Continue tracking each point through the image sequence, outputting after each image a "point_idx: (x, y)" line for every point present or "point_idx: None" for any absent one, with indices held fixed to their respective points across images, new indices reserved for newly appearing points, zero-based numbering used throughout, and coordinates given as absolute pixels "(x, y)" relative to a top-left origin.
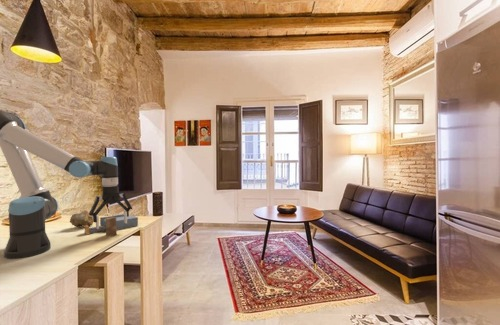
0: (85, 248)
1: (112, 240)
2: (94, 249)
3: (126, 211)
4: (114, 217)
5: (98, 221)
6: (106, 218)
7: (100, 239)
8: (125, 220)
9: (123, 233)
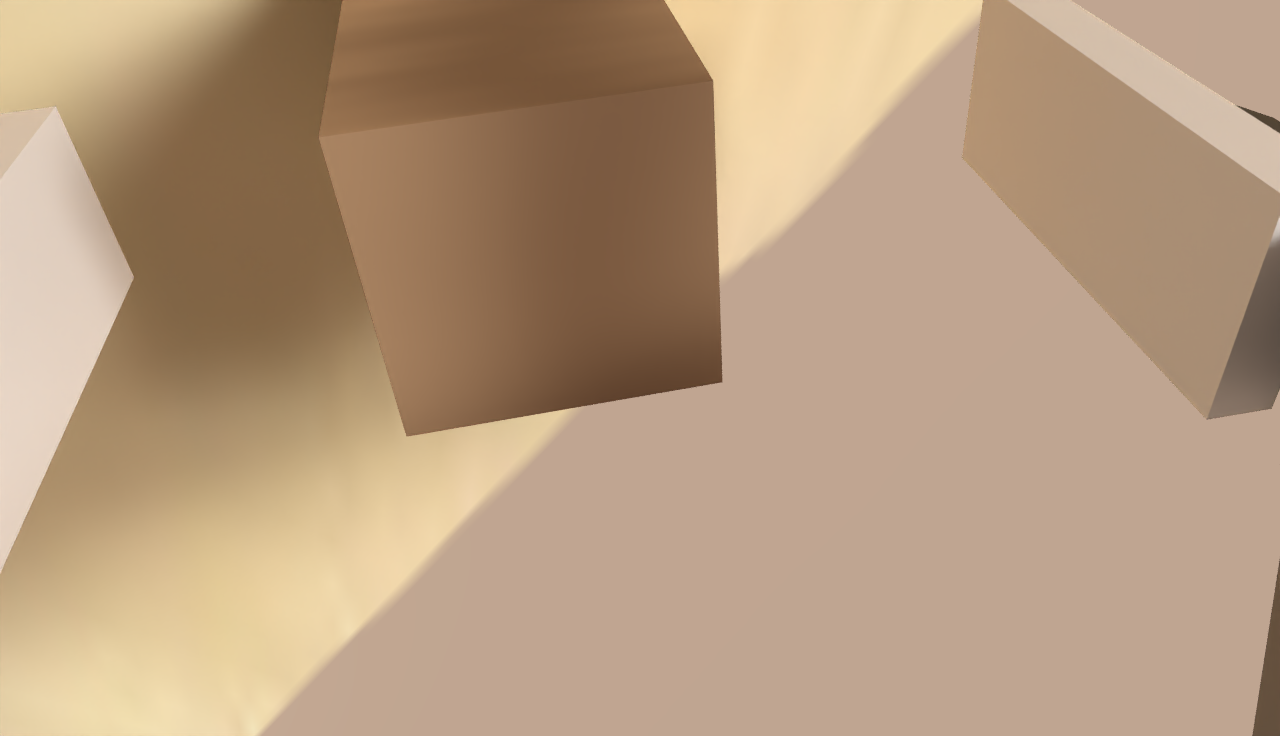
0: (28, 640)
1: (470, 460)
2: (191, 719)
3: (1255, 404)
4: (694, 245)
5: (48, 438)
6: (356, 246)
7: (232, 271)
8: (1008, 181)
9: (782, 73)
